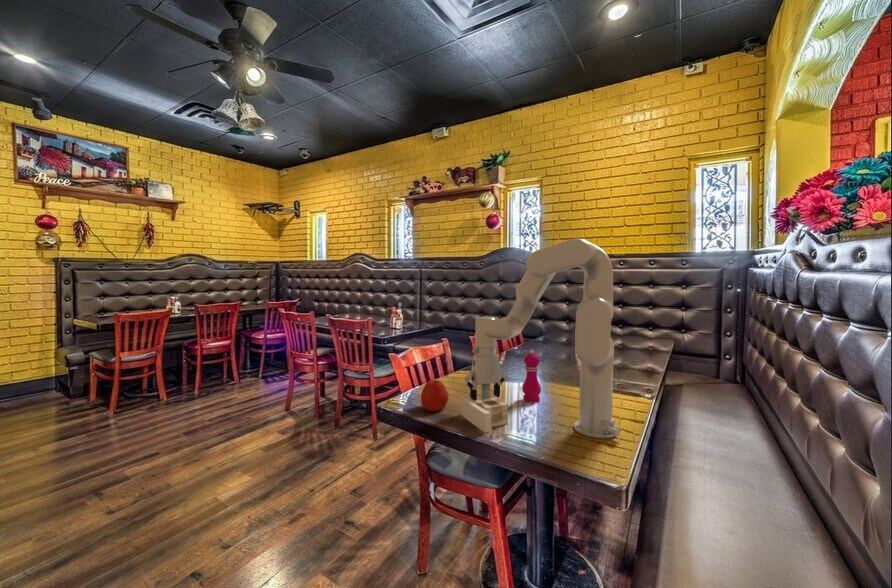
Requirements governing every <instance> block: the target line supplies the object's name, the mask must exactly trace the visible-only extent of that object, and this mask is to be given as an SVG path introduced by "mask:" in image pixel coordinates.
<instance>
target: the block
mask: <svg viewBox="0 0 892 588" xmlns="http://www.w3.org/2000/svg"><path fill="white" fill-rule="evenodd" d="M473 402H474V403H476V404H477V405H479V406H480V407H482V408H484V409H485V410H487V411H489V412H490V413H491V428H494V427H501V426H505V424H506V425H508V423H509V422H508V421H509V420H508V415H509V414H508V413H509V412H508V411H509V409H508V403H505V402H504V401H502V400H500V399H498V398H496V397H490V398H489V399H482V398H481V399H477V400H476V401H474V400H473Z"/></svg>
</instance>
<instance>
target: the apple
mask: <svg viewBox="0 0 892 588" xmlns="http://www.w3.org/2000/svg"><path fill="white" fill-rule="evenodd" d="M420 394H421V395H420V401H421V402H420V403H421V406H422V408H423V409H424V410H425V411H428V412H438V411H439V412H440V411H442V410H443V409H445V407H446V406H447V404H448V401H449V393H448V390H447V388H446V386H445V384H444V383H443V382H442V381H440V380H437V379H433V380H428V381H427V382H426V383H425V385H424V387H423V388H422V391H421V393H420Z"/></svg>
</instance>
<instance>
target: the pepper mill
mask: <svg viewBox="0 0 892 588" xmlns="http://www.w3.org/2000/svg"><path fill="white" fill-rule="evenodd" d="M540 361H541V360H540V357H539V355H537V354H535V351H534V350H533V349H530V350H529V353H528V354H526V355H525V356H524V358H523V363H524V364H525V366H524V368H525V369H524V370H525V371H526V376H525V379H524V382H523V384H522V386H521V387H522V389H521V390H522V393H523V395H522V396H523V399H522V400H523V401H524V402H525V401H526V403H528V402H532V403H531V404H534V403H533V402H537V403H539V402H541V401H540V399H541V398H540V397H541V396H540V394H541V393H542V387H541V384H540V382H539V379H538V371H539V365H540Z"/></svg>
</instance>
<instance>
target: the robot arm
mask: <svg viewBox="0 0 892 588" xmlns="http://www.w3.org/2000/svg"><path fill="white" fill-rule="evenodd" d="M611 261H612V260H611V258H610V257H609V255H608V254H607V253H606V252H605V251H604V250H603V249H602V248H601V247H599V246H597V245H595V244H594V243H592V242H590V241H588V240H586V239H583V238H571V239H568V240H564V241H561V242H558V243H556V244H552V245H550V246H546V247H544V248H540V249H536V250H534V251H533V252H531V253H530V254H529V255H528V258H527V259H526V264H525V265H526V266H525V267H526V269H527V270H526V271H525V273H524V274H523V276H522V278H521V280H519V283H518V284H517V286H516V288H515V295H516V297H515V302H514V304H513V306H512V307H511V309H510V310H509V313H507V315H506V316H504V317H501V318H496V317H494V316H479V317H477V318H476V319H475V336H474V337H475V338H474V339H475V344H474V345H475V346H474V348H471V349H472V350H471V351H472V353H473V358H472V362H471V363H472V364H471V370H470V371H471V372H469V373H468V374H466V375H465V376H464V377H463V380H464V382H465V384H466V385H465V386H467V387H468V388H469V392H470V393H469V396H470V400H471V401H472V400H473V402H474V401H476V400H478V397H477V395H478V393H477V389H476V388H477V387H478V386H479V385H480V386H482V384H493V396H494V397H497V398H500V397H501V395H500V394H501V387H502V385H503V383H504V381H505V379H506V377H507V373H506V372H505V371H504V370H501V363H500V356H499V354H497V340H500V341H507V340H510V339H512V338H514V337H517V336H519V334H521V333H522V331H523V330H524V328H525V326H526V325H527V323H528V322H529V320H530V318H531V317H532V315H533V313H534V311H535V310H536V307H537V305H538V302H539V301H540V299H541V298H542V296H543V294H544V292H545V291H546V289H547V287H548V286H549V284H550V283H551V282H552V280H553V279H554V276H556V273H561V272H564V271H568V270H571V269H575V268H580V269H582V271H583V275H584V276H583V293H582V294H583V296H582V300H581V302H579V304H578V305H577V309H576V313H575V334H574V335H575V338H574V339H575V341H574V343H575V344H574V350H575V355H576V357H577V358H578V360H579V361H580V365H579V368H580V369H579V420H577V421H575V422H574V423H573V428H574V430H575V431H576V432H577V433H578V434H581V435H583V436H585V437H590V438H595V439H611V438H614V437H618V436H620V433H621V432H622V428H621V427H619V426H616V419H613V387H614V386H613V383H614V361H615V360H614V357H615V345H614V341H613V339H612V337H611V333H612V332H611V331H612V319H613V317H614V314H615V313H614V269H613V263H612V262H611ZM470 379H471V381H470Z"/></svg>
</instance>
